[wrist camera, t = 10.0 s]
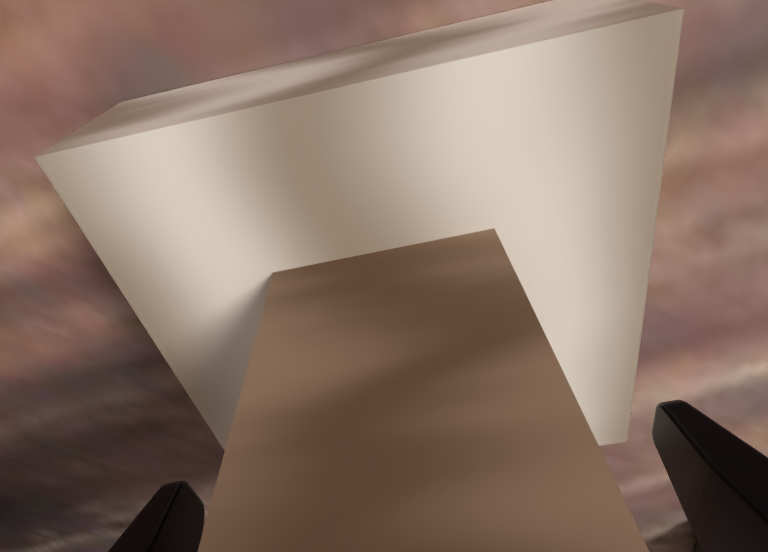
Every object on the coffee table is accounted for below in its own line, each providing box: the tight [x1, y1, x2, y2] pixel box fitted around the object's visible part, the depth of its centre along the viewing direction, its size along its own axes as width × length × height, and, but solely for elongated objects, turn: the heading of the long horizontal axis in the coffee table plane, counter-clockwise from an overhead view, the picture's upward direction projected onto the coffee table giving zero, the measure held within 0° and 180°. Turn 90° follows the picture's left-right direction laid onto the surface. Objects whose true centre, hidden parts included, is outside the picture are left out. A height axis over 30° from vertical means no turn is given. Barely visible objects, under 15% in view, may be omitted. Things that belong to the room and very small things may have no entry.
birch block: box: [35, 0, 684, 451], centre depth 14 cm, size 12×12×4 cm
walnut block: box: [198, 228, 649, 552], centre depth 9 cm, size 5×5×7 cm
